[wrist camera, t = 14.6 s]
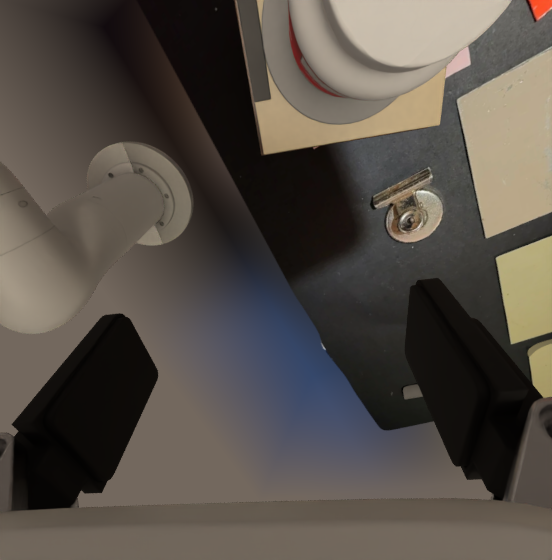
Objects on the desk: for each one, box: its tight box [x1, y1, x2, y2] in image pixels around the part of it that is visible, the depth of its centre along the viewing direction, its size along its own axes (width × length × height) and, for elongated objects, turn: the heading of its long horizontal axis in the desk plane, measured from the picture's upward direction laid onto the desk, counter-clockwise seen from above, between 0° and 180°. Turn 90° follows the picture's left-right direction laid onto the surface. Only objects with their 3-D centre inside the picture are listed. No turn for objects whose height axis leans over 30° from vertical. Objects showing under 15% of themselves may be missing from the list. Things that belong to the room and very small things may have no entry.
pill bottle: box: [288, 0, 512, 101], centre depth 11 cm, size 6×6×11 cm
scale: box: [237, 0, 446, 154], centre depth 17 cm, size 11×11×4 cm
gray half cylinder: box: [403, 384, 423, 399], centre depth 74 cm, size 4×20×2 cm, turn 110°
